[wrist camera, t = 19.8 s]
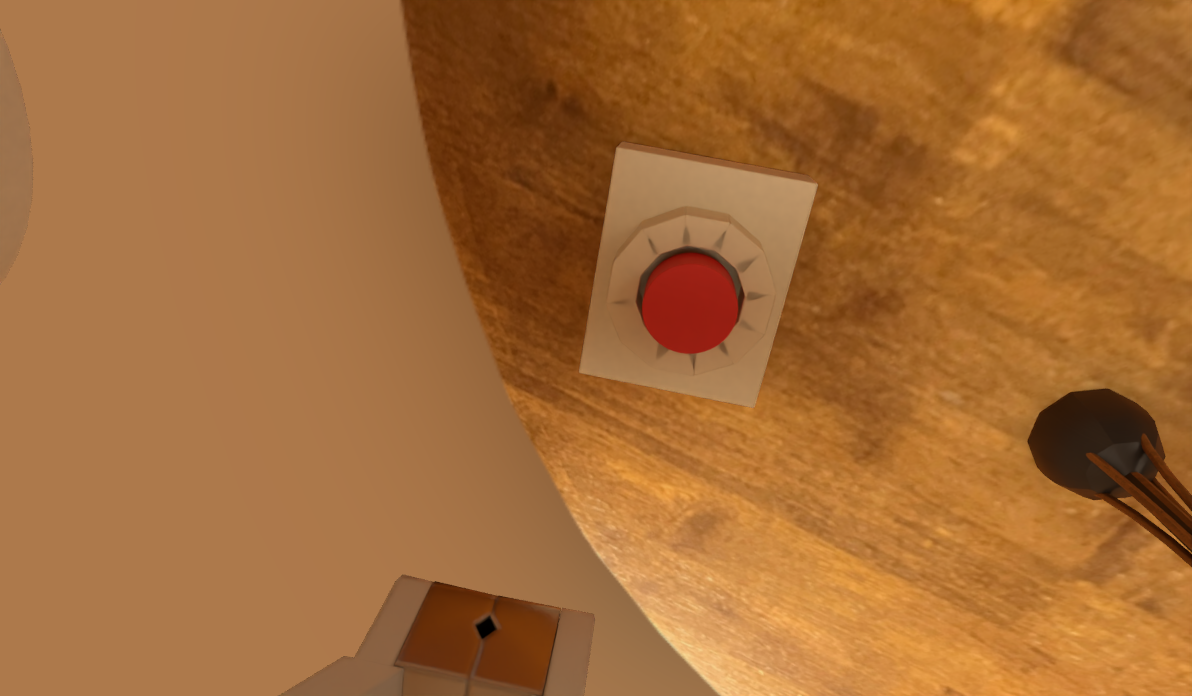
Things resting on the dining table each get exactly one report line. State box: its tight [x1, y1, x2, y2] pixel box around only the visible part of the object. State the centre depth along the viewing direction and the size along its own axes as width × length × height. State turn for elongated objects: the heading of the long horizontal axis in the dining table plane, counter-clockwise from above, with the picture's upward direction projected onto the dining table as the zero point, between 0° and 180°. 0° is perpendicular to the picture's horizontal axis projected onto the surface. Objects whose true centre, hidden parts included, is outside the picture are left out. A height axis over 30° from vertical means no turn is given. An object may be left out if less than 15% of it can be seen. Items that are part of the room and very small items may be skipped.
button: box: [642, 253, 738, 354], centre depth 27 cm, size 4×4×2 cm
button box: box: [579, 142, 818, 408], centre depth 29 cm, size 8×10×4 cm
